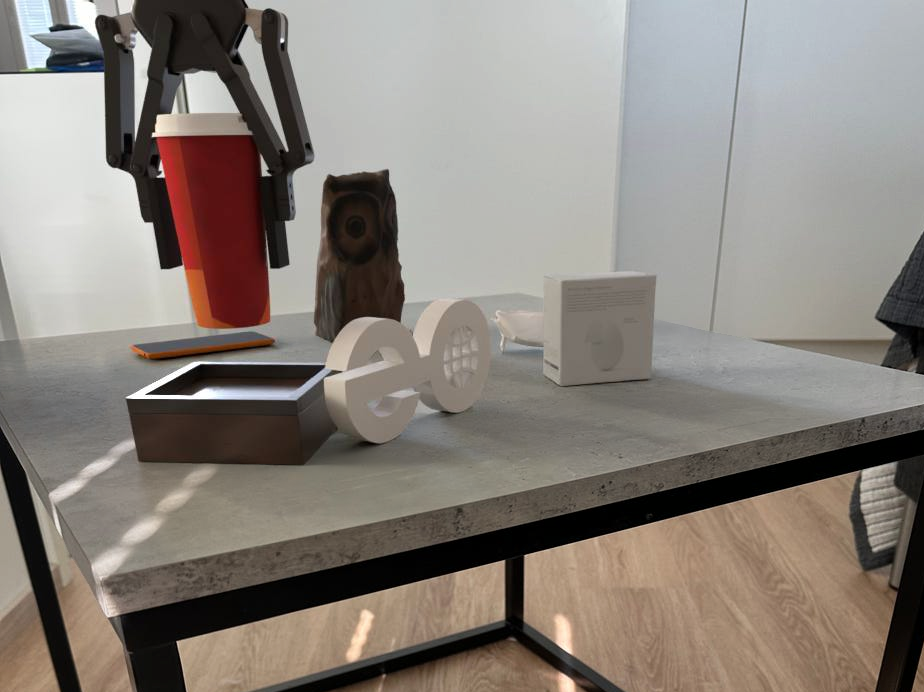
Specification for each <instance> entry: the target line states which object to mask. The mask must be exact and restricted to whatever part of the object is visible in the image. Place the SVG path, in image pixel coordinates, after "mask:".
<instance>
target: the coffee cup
mask: <svg viewBox="0 0 924 692" xmlns="http://www.w3.org/2000/svg"><path fill="white" fill-rule="evenodd" d="M155 132H156V133H152V137H157V142H158V147H159V152H160V156H161V166H162V170H163V174H164V177H165V180H166V184H167V189H168V194H169V199H170V203H171V208H172V213H173V217H174V222H175V227H176V232H177V236H178V241H179V245H180V250H181V255H182V261H183V268H184V272H185V277H186V282H187V286H188V287H187V288H188V290H189V295H190V300H191V304H192V308H193V313H194V318H195V320H196V324H197V326H198V327H199V328H204V329H212V330H213V329H215V330H231V329H245V328H252V327H253V328H254V327H259V326H263V325H266V324H269V323H270V322H271V297H270V280H269V279H270V277H269V258H268V246H267V237H266V229H265V220H264V212H263V203H262V195H261V186H260V176H263V169H262V155H261V153H260V151H259V149H258V147H257V146H256V144H255V142H254V140H253V138H252V136H251V135H253V134H252V132H251V131H249V130H248V128H247V124H246V122H244V120H243V118H242V114H240V112H192V113H188V112H187V113H171V114H163V115H157V122H156V125H155Z"/></svg>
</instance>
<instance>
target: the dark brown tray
mask: <svg viewBox="0 0 924 692" xmlns="http://www.w3.org/2000/svg"><path fill="white" fill-rule="evenodd" d="M325 365H326V362H281V361H280V362H279V361H278V362H277V361H276V362H273V361H271V362H268V361H267V362H265V361H264V362H263V361H262V362H261V361H260V362H259V361H193V362H191V363H190V364H188V365H186V366H184V367H182V368H180V369H178V370H177V371H174V372H173V373H171V374H169V375H167V376H165V377H163V378H161V379H160V380H158V381H156V382H154V383H152V384H149V385H148V386H145V387H144V388H142V389H140V390H139V391H137V392H135V393H133V394H131V395H129V396H127V397H125V401H126V407H127V412H128V416H129V421H130V427H131V431H132V437H133V441H134V446H135V451H136V457H137V462H146V463H147V462H150V463H151V462H153V463H155V462H156V463H192V464H193V463H195V464H196V463H197V464H198V463H201V464H240V465H241V464H245V465H246V464H247V465H249V464H250V465H288V466H289V465H292V466H293V465H294V466H295V465H296V466H304V465H305V464H306V462H307V461H308V460H309V459H310V458H312V456H313V455H314V454H315V453H316V452H317V451H318V450H319V449H320V448H321V447H322V446H323V444H324V443H326V441H327V440H328V439H329V438H330V437H331V436H332V435H333V434H334V433H335V432H336V431H337V430H338V428H337V426H336V425H335V424H334V422H333V420H332V418H331V416H330V414H329V412H328V409H327V405H326V400H325V391H324V378H326V377H329V376H332V375H336V374H339V373H343V371H339V370H331V369H325Z"/></svg>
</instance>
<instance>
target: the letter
mask: <svg viewBox="0 0 924 692" xmlns="http://www.w3.org/2000/svg"><path fill="white" fill-rule="evenodd" d="M490 332H491V331H490V328H489V324H488V320H487V318H486V316H485V314H484V312H483V311H482V309H481V308H480V306H479V305H478V304H476V303H474V302H473V301H471V300H468V299H459V298H448V297H447V298H445V297H444V298H438V299H436V300H434V301H432V302H431V303H429V304H428V305H427V307H425V309H424V310H423V311H422V313H421V314H420V316H419V318H418V320H417V321H416V324H415V326H414V329H413V332H412V333H411V332H410V330H409V329H408V328H407V327H406V326H405V325H404V324H403V323H402V322H401V323H400V322H398V321H396V320H393V319H385V318H375V317H363V318H358V319H355V320H353V321H351V322H349V323H348V324H347V325H346V326H345V327H344V328H343V329H342V330H341V331H340V332H339V334H338V335H337V337H336V338H335V340H334V342H333V343H332V344H331V346H330V349H329V352H328V355H327V357H326V361H325V363H326V365H325V369H331V370H339V371H342V373H339V374H336V375H332V376H329V377H326V378H324V391H325V400H326V405H327V409H328V412H329V414H330V416H331V418H332V420H333V422H334V424H335V425H336V426H337V430H339V431H340V432H341V433H342V434H343V435H345V436H346V437H348V438H350V439H353V440H357V441H361V442H362V441H363V442H368V443H375V444H384V443H387V442H390V441H392V440H394V439H396V438H398V437H399V436H400V435H401V434H402V433H403V432H404V431H405V429H406V428H407V427H408V425H409V424H410V422H411V420H412V418H413V417H414V414H415V412H416V410H417V407H418V404H419V401H420V402H421V403H422V404H423V405H424V406H425V407H427V408H428V409H431V410H435V411H441V412H446V413H447V412H449V413H458V414H459V413H461V412H462V413H463V412H465V411H466V410H468V409H469V408H470V407H471V406H472V405H474V404H475V402H476V401H477V400H478V399H479V397H480V395H481V393H482V392H483V390H484V387H485V385H486V382H487V379H488V375H489V371H490V367H491V360H492V339H491V333H490ZM377 351H378V353H379V354H380V355H381V357H382V359H383V360H379V361H377V362H373V363H369V361H370V359H371V357H372V356H373V355H374V353H376V352H377ZM368 363H369V364H368ZM412 387H413V390H407V389H410V388H412ZM380 398H381V399H380ZM377 399H380V401H379V402H378V403H377V405H376V406H375V407H374V408H373V409H370V407H369V406H368V404H367V403H369V402H372V401H374V400H377Z"/></svg>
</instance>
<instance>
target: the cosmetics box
mask: <svg viewBox="0 0 924 692" xmlns="http://www.w3.org/2000/svg"><path fill="white" fill-rule="evenodd" d="M657 278H658V277H657V275H656V274H652V273H646V272H641V271H636V270H629V271H626V270H625V271H624V270H623V271H611V272H610V271H609V272H592V273H591V272H590V273H571V274H554V275H544V276H543V313H544V347H542V348H543V351H542V353H543V354H542V355H543V364H542V365H543V366H542V367H543V372H542V373H543V376H545V377H546V378H548V379H550V380H551V381H552V382H554V383H555V384H557V385H558V386H560V387H568V386H576V385H577V386H578V385H579V386H580V385H588V384H589V385H591V384H600V383H601V384H602V383H614V382H626V381H638V380H639V381H640V380H649V379H652V375H653V374H652V373H653V371H652V370H653V369H652V368H653V347H654V326H655V306H656V305H655V304H656V288H657Z"/></svg>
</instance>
